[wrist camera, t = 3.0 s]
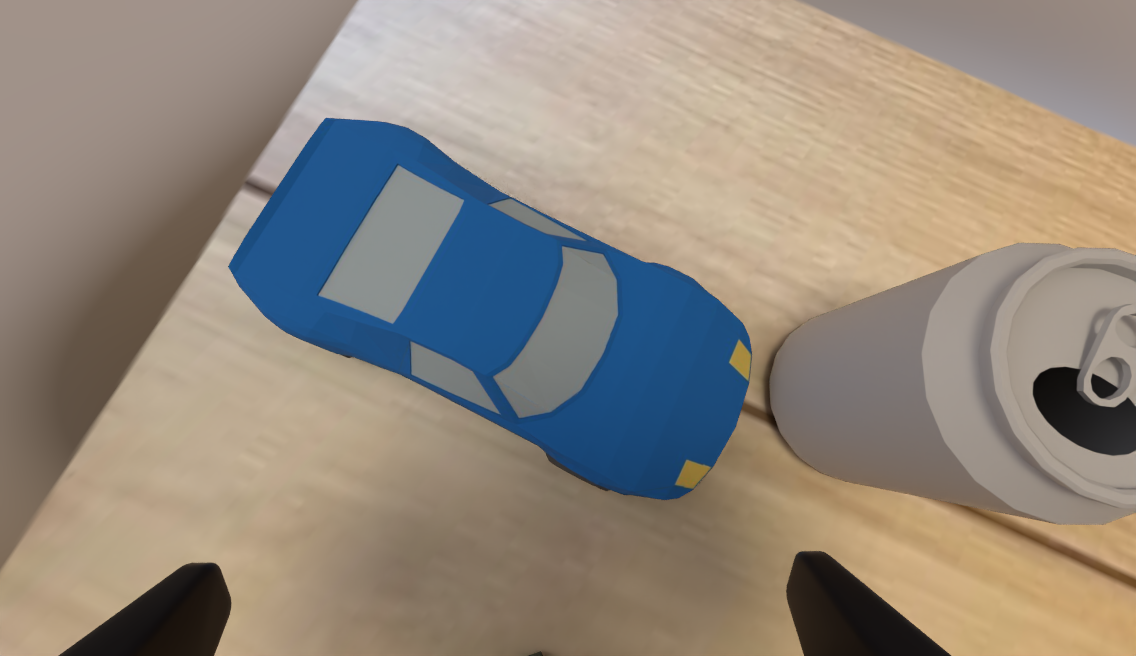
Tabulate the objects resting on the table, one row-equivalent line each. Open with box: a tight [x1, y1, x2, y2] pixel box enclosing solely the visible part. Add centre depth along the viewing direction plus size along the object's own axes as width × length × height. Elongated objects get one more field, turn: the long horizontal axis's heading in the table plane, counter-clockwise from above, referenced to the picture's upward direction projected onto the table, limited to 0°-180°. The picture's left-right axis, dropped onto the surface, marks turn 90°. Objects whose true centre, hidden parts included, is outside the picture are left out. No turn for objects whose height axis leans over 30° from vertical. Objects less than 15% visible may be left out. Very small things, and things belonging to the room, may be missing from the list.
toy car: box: [228, 118, 752, 500], centre depth 21 cm, size 9×20×5 cm, turn 63°
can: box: [769, 243, 1136, 525], centre depth 18 cm, size 8×8×12 cm
